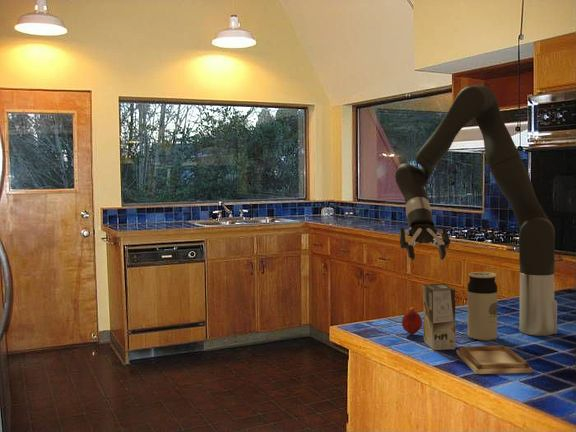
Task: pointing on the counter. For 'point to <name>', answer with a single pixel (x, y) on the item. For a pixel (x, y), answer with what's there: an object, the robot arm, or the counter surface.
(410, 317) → the onion
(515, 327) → the counter surface
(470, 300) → the travel mug
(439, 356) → the counter surface
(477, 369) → the wooden tray
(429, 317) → the coffee box
